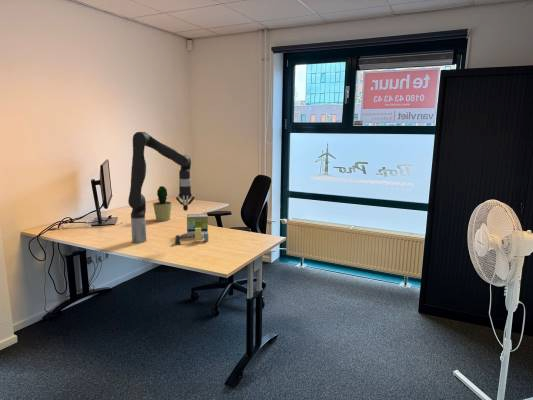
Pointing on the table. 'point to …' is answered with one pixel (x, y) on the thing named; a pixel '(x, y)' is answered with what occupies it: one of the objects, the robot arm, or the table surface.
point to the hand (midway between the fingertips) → (185, 210)
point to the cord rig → (205, 237)
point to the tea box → (197, 223)
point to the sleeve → (198, 234)
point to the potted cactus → (162, 205)
